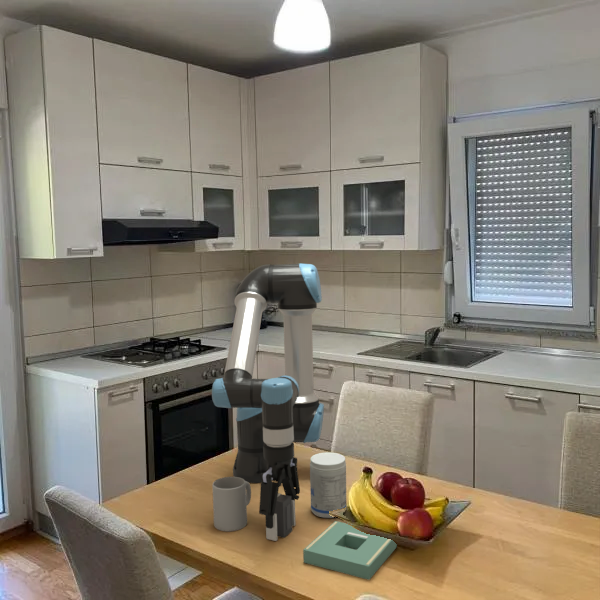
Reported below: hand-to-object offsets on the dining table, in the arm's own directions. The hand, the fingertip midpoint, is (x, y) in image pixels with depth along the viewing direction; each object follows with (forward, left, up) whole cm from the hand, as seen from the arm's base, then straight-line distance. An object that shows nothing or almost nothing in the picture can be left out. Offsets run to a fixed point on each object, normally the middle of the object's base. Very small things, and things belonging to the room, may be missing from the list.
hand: (281, 531), depth 157 cm
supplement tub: (-16, +5, -1) cm, 17 cm away
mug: (0, -14, -1) cm, 14 cm away
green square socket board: (+2, +20, 0) cm, 20 cm away
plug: (0, 0, 0) cm, 0 cm away
